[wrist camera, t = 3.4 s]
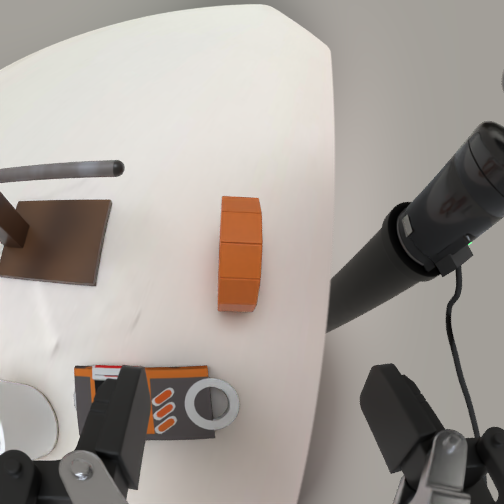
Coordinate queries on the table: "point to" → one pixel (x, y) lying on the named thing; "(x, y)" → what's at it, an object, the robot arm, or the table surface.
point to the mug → (26, 420)
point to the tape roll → (239, 254)
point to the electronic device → (165, 400)
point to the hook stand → (55, 227)
